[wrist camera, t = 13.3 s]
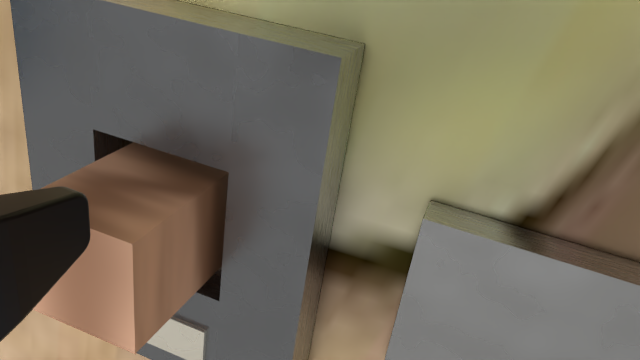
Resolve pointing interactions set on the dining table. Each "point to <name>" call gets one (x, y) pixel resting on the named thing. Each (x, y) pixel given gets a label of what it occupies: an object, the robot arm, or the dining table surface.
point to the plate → (204, 144)
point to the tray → (512, 295)
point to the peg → (140, 243)
